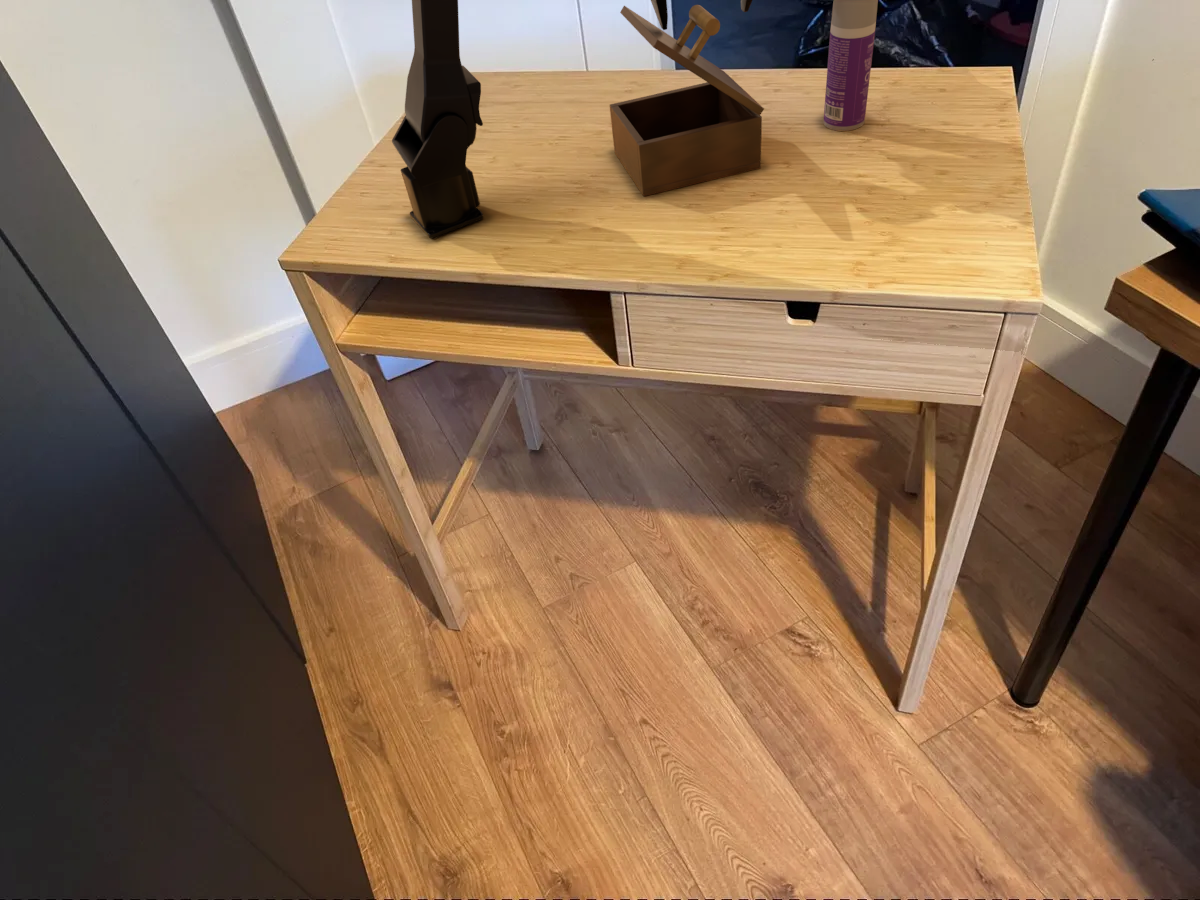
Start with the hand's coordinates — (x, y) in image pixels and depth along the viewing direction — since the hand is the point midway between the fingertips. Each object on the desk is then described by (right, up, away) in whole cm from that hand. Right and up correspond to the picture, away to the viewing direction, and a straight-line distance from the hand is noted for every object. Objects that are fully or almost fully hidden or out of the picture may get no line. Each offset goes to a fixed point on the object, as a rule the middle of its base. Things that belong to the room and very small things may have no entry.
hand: (704, 19), depth 89 cm
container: (+17, -8, +7) cm, 21 cm away
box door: (-2, -6, -2) cm, 6 cm away
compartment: (-2, -13, +5) cm, 14 cm away
